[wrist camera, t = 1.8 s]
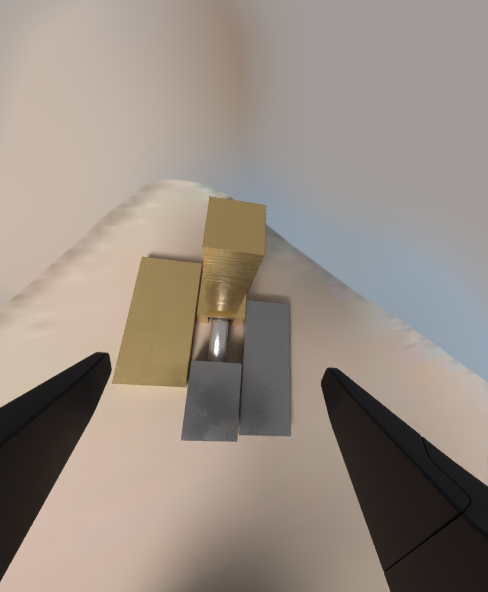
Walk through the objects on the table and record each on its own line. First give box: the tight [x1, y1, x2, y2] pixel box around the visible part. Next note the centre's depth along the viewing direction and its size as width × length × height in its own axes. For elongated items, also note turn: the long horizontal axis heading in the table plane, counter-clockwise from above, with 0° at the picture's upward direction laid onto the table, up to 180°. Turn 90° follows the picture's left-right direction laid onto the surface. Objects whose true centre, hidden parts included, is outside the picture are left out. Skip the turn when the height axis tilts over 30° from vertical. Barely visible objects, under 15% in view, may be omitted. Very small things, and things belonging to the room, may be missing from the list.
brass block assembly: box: [112, 196, 266, 387], centre depth 15 cm, size 12×11×14 cm
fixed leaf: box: [181, 300, 291, 442], centre depth 20 cm, size 15×9×3 cm, turn 177°
